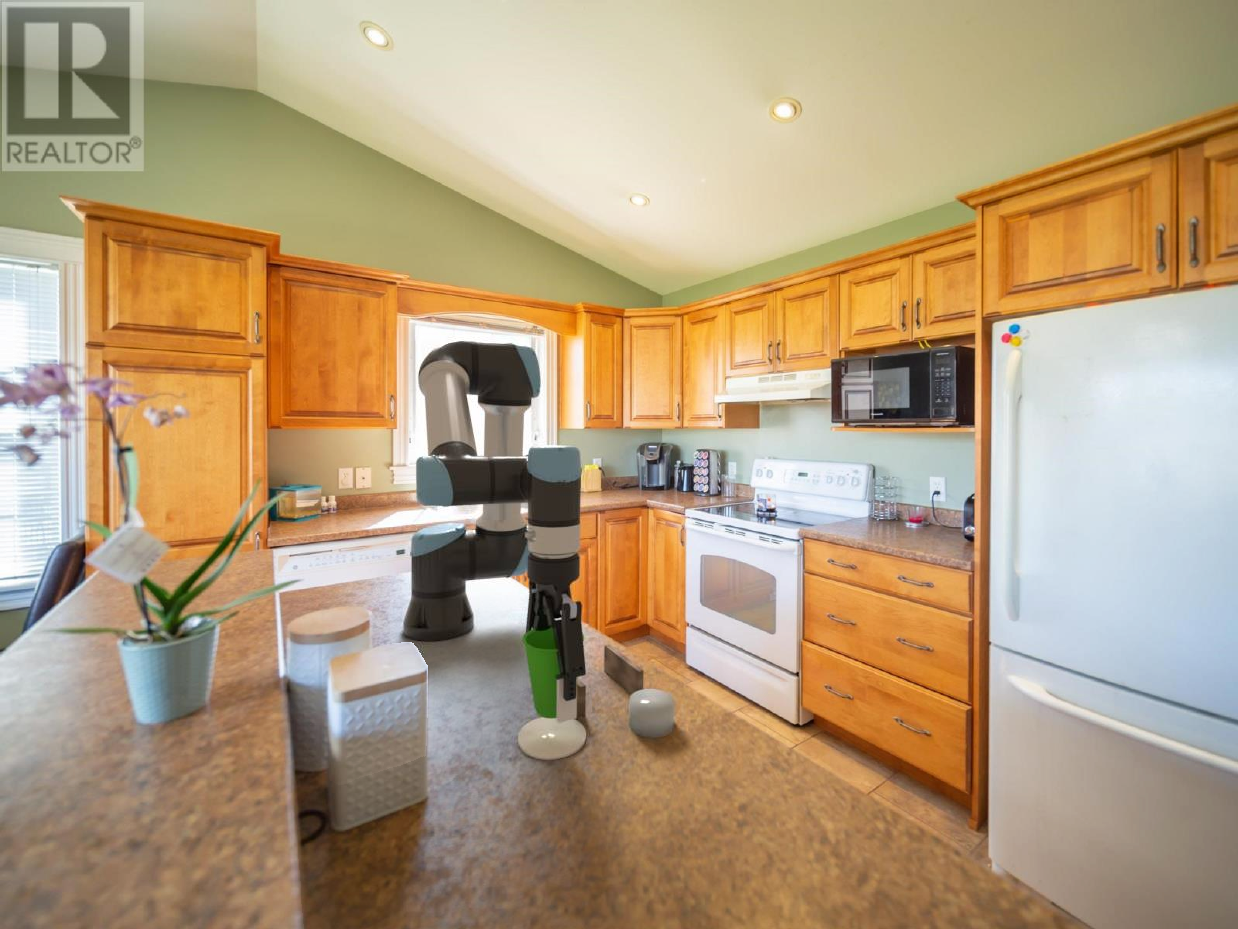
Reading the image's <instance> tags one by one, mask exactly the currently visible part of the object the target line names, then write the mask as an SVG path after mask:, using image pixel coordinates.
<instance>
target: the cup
mask: <svg viewBox="0 0 1238 929" xmlns="http://www.w3.org/2000/svg"><path fill="white" fill-rule="evenodd" d="M582 634H583V642H585V635H584V633H583V632H582ZM521 643H522V644H523V645H524V648H525V656H526V661H527V666H528V667H527V668H528V673H529V674H528V675H529V681H530V686H531V687H532V690H531V692H532V699H533V705H534V710H535V712H536V714H537V715H538V716H540V718H541V717H544V718H549V719H551V718H557V679H556V677H555V675H558V674H560V670H559V664H558V658H557V651H558V650H557V649H556V646H555V640H554V634H553V629H552V628H549V629H547V630H544V631H536V630H535V629H533V628H532V630H530V631H528V632H527V633H526V632H524V634H523V636H522V638H521ZM531 687H530V688H531Z"/></svg>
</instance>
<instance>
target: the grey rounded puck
mask: <svg viewBox="0 0 1238 929" xmlns="http://www.w3.org/2000/svg"><path fill="white" fill-rule="evenodd" d="M675 703H676V702H675V698H674V697H673V696H672V695H671V693H668V692H666V691H664V690H661V689H658V688H657V689H656V688H643V690H639V691H636V692H634V693H633V694H630V697H629V705H628V706H629V707H628V708H629V709H628V712H629V713H628V716H629V717H628V726H629V728H630V730H631V731H632V732H633V733H635V734H636V735H638V736H641V737H643V738H652V739H656V738H661V737H665V736H667V735H669V734H670V733H672V731H673V730H674V726H675Z"/></svg>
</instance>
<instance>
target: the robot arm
mask: <svg viewBox="0 0 1238 929" xmlns="http://www.w3.org/2000/svg"><path fill="white" fill-rule="evenodd" d="M539 363H540V362H539V358H538V356H537V354H536V351H535V350H534V348H533V347H532V346H530V344H526V343H521V342H514V341H500V340H497V341H496V340H485V339H484V340H483V339H470V338H456V339H452V340H448V341H445V342H444V343H442V344H440V345H438V346H436V347H435V348H434V349H433V350H431V351H430V352H428V354H427V355H426V357H425V358H424V359H423V361H422V362H421V365H419V370H418V376H417V380H418V381H417V382H418V387H419V390H420V392H421V394H422V395H423V396H424V405H425V423H426V438H427V439H426V441H427V456H419V457H418V458H417V459H416V462H415V476H416V477H415V481H416V482H415V483H416V489H415V490H416V495H415V496H416V501H417V502H418V504H419V505H421V506H425V507H426V506H427V507H429V506H430V507H431V506H432V507H442V508H446V507H459V506H476V505H477V506H479V505H482V513H481V515H480V516H479V517H478V518H476V520H475V528H472V529H471V528H470V529H467V527H466V524H465V523H463V522H446V523H440V524H436V525H431V526H427V527H424V528H421V529H420V530H417V531H416V532H415V533H414V534H413V535H412V536H411V539H410V540H411V542H410V552H409V556H410V557H411V559H410V561H411V564H410V565H411V567H410V570H411V572H410V573H411V574H410V576H411V578H410V579H411V580H410V583H411V584H410V587H411V590H410V591H411V592H410V595H411V598H410V599H409V600H410V601H409V603H408V606H407V610H406V612H405V616H404V619H403V621H402V622H403V624H402V626H403V627H402V628H403V629H402V630H403V631H402V632H403V635H404V636H405V637H407V638H409V639H412V640H415V641H426V642H433V641H442V640H444V641H445V640H448V639H453V638H457V637H460V636H462V635H464V634H466V633H468V632H469V631H471V630H472V629H473V627H474V625H475V624H474V623H475V622H474V618H475V617H474V616H475V615H474V612H473V609H472V607H471V606H472V605H471V603H470V601H469V598H468V595H467V590H466V588H467V585H466V584H467V583H466V582H467V581H469V582H470V581H479V580H491V579H503V578H506V579H510V578H511V577H518V576H523V575H524V574H527V575H526V576H527V579H528V590H529V591H528V593H529V594H528V595H529V596H528V604H527V613H526V614H527V615H526V626H525V633H527V632H528V631H530V630H532V629H535V630H536V631H544V630H547V629H549V628H552V629H553V634H554V640H555V646H556V649H557V650H558V651H557V658H558V664H559V670H560V674H558V675H555V677H556V679H557V722H558V723H561V722H564V721H568V720H571V719H577V717H578V715H577V677H578V678H580V677H583V676H586V672H587V671H586V658H585V648H584V641H583V635H584V633H583V625H582V613H583V610H582V609H583V604H582V602H581V601H580V600H578V601H573V599H572V598H573V597H572V591H571V586H572V585H571V584H573V583H574V582H576V581H577V580H578V579H579V578H580V576H581V575H580V572H581V570H580V569H581V568H580V567H581V566H580V565H581V561H580V560H581V555H580V554H579V553H578V551H580V549H581V496H582V495H581V492H582V491H581V490H582V489H581V484H582V483H581V481H582V473H583V469H582V463H581V451H580V449H579V448H578V447H576V446H574V445H562V444H561V445H560V444H558V445H556V444H555V445H550V444H545V445H544V444H543V445H533V446H531V447H530V448H529V449H528V454H525V455H523V454H524V453H523V450H524V431H525V430H524V428H525V427H524V426H525V413H526V411H527V410H529V409H530V408H531V407H532V399H536V398H538V397H539V395H540V392H541V386H542V385H541V383H542V382H541V381H542V380H541V371H540V364H539ZM468 395H469V396H477V404H478V406H479V407H480V408H481V409H482V410H483V412H484V432H483V433H484V437H483V440H484V441H483V455H478V451H477V446H476V438H475V435H474V427H473V422H472V419H471V412H470V406H469V401H468V397H467V396H468ZM522 504H527V518H525V517H524V516H523V515H522V514H521V510H522V509H521V508H522ZM582 633H583V634H582ZM530 690H531V691H532V687H530Z"/></svg>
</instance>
